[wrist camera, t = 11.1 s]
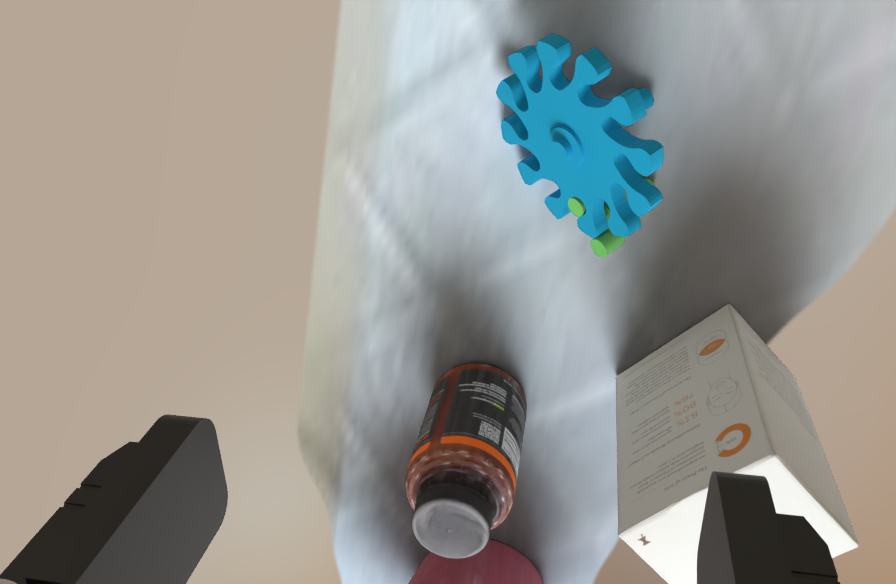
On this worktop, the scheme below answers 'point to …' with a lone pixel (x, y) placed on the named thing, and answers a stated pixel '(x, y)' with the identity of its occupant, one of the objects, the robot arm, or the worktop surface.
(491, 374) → the supplement bottle
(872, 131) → the worktop surface
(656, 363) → the small box
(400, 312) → the worktop surface
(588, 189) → the gear
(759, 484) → the robot arm
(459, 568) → the plant pot
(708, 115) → the worktop surface
